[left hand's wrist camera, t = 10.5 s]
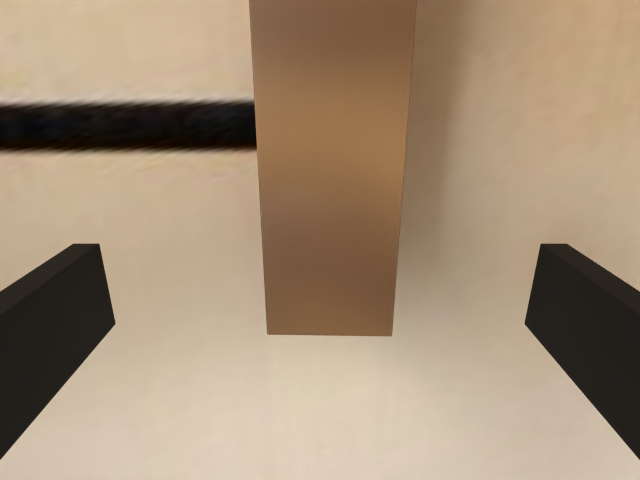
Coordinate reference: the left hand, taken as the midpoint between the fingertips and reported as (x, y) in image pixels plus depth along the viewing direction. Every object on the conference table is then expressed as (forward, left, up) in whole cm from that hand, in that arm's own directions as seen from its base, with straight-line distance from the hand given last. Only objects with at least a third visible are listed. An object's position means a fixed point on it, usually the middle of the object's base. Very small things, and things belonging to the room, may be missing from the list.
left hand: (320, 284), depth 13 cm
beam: (+28, +20, -11) cm, 37 cm away
